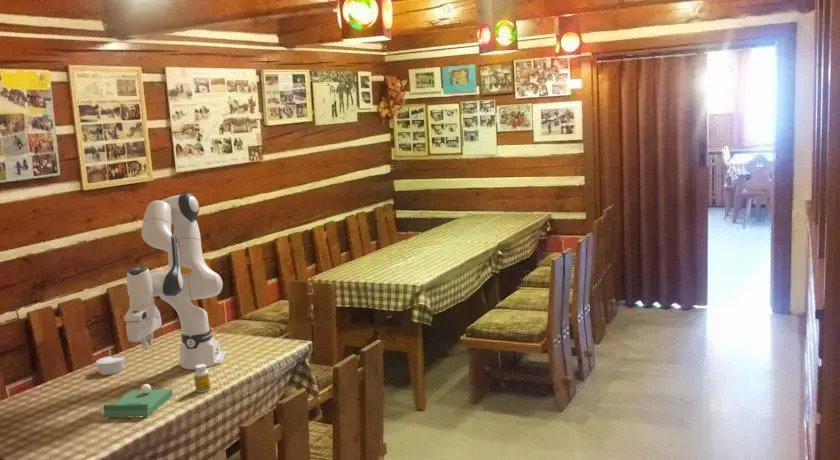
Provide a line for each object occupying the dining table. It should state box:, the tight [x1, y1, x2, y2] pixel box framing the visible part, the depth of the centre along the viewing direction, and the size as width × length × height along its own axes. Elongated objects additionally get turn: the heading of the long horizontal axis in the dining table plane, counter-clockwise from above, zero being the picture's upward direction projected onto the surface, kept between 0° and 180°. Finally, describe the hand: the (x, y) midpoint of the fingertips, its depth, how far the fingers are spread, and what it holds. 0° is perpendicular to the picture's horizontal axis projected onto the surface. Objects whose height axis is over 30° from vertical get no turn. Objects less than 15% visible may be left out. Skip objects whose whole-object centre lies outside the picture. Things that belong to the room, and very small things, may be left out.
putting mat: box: [103, 388, 174, 419], centre depth 277 cm, size 20×16×4 cm
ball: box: [140, 383, 152, 394], centre depth 283 cm, size 4×4×4 cm
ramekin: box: [95, 355, 126, 376], centre depth 319 cm, size 11×11×5 cm
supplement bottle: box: [193, 364, 211, 393], centre depth 289 cm, size 5×5×10 cm
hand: (147, 346), depth 285 cm, fingers closed
